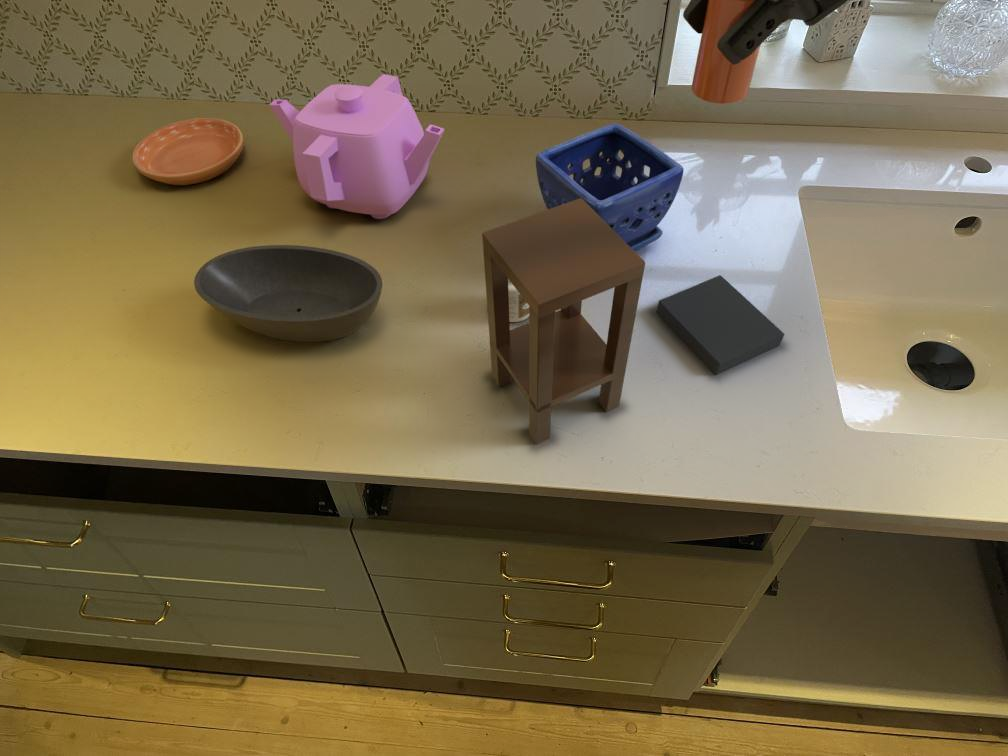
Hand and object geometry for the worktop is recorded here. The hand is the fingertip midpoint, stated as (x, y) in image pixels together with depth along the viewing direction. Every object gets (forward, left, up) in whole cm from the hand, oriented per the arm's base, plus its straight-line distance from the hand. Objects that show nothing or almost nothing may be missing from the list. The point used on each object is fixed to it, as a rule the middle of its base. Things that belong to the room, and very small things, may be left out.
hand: (708, 39), depth 46 cm
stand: (0, +11, -34) cm, 36 cm away
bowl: (+24, +32, -35) cm, 53 cm away
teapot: (+44, +16, -35) cm, 58 cm away
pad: (-1, -10, -34) cm, 36 cm away
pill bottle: (+13, +9, -35) cm, 38 cm away
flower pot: (+19, -7, -35) cm, 40 cm away
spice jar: (0, -2, -4) cm, 4 cm away
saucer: (+65, +37, -35) cm, 83 cm away
